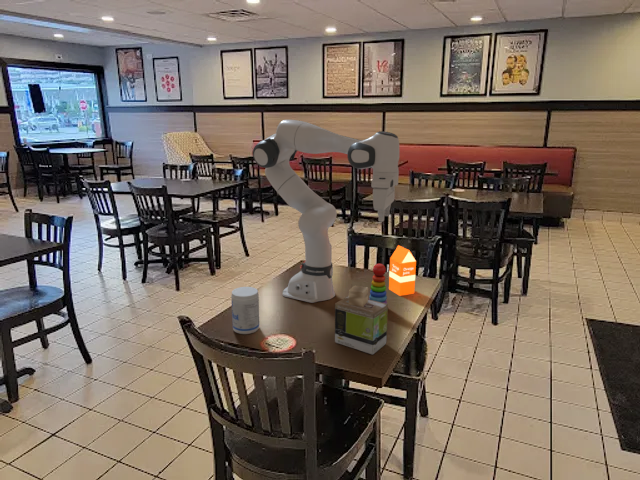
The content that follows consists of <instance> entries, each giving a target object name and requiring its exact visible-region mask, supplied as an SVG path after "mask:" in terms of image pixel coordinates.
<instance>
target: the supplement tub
mask: <svg viewBox="0 0 640 480" xmlns="http://www.w3.org/2000/svg"><path fill="white" fill-rule="evenodd" d="M259 296H260V295H259V289H257V288H255V287H252V286H240V287H236V288H234V289H232V291H231V296H230V298H231V318H232V321H231V322H232V330H233V332H235V333H237V334H240V335H249V334H254V333H256V332H257V331H258V330H259V328H260V306H259V305H260V304H259V303H260V301H259V298H260V297H259Z"/></svg>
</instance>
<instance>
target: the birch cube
mask: <svg viewBox="0 0 640 480" xmlns="http://www.w3.org/2000/svg"><path fill="white" fill-rule="evenodd" d="M348 296H349V305H354V306H360V307H363V306H364V305H365V304H366V303H367V302H368V299H369V287H368V286H361V285H352V287H351V288H349V290H348Z"/></svg>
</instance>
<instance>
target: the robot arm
mask: <svg viewBox="0 0 640 480" xmlns="http://www.w3.org/2000/svg"><path fill="white" fill-rule="evenodd" d="M297 152H301V153H305V154H313V155H316V154H318V155H319V154H327V153H340V154H341V153H342V154H346V155H347V160H348V162H349V164H350V165H351V166H352V167H353V168H355V169H358V170H364V169H370V168H371V169H372V180H371V186H370V187H371V188H373V189H372V204H373V210H374V211H377V216H378V222H380V223H381V222H384V221H385V217H389V216H390V211H391V206H392V203H393V202H395V193H396V192H395V191H396V189H395V186H398V185H399V178H400V177H399V175H400V174H399V173H400V171H399V170H400V169H399V161H400V139H399V137H398V135H397V134H395V133H393V132H389V131H381V130H380V131H377V132H376V133H375V134H373V135H372V136H370V137H368V138H366V139H357V138H355V137H349V136H346V135H342V134H338V133H336V132H333V131H330V130H328V129H326V128H324V127H321V126H318V125H316V124H314V123H313V124H312V123H311V122H307V121H302V120H297V119H283V120H282V121H280V122H279V123H278V125H277V127H276V130H275V133H274V134H271V135H269V136H268V137H266V138H265V139H263V140H260V141H259V142H258V143H256V145H254V147H253V149H252V157H253V160H254V161H255V164H256V165H258V166H259V167H261V168H262V169H263V168H265V169H264V176H265V177H266V179H267V180H268V182H269V183H270V185H271V186H272V188H273V189H274V190H275V191H276V193H277V194H278V195H279V196H280V197H281V198H282V200H283V201H284V202H285V203H286V204H287V205H288V206H289V207H291V208H292V209H295V210H296V211H298V212H299V213H300V214H301V215H300V217H299V219H298V222H297V223H298V225H297V226H298V229H299V230H300V232H301V233H302V238H303V243H304V251H305V252H304V253H305V257H304V258H305V260H303V262H302V263H301V265H299V270H300V271H299V272H298V273H296V274H294V275H293V276H292V277H291V278H290V279H289V281H288V284H287V285H288V286H286V287H285V288H284V289H283V291H282V296H283V297H285V298H290V299H293V300H299V301H302V302H307V303H312V304H313V303H314V304H315V303H317V302H322V301H327V300H331V299H333V298H334V297H335V296H336V292H335V289H334V288H335V287H334V284H333V273H334V269H333V268H334V267H333V262H332V260H333V259H332V258H333V257H332V252H333V251H332V249H333V248H332V244H331V242H330V238H329V228H330V227H332V226H333V225H334V224H335V221H336V219H337V215H338V212H337V209H336V207H335V206H334V205H333V204H331V203H329V202H327V201H326V200H325V199H323V198H322V197H321V196H319V195H318V194H317V193H316V192H315V191H313V189H311V188H310V187H309V186H308V184H307V183H305V181H304V180H303V179H302V178H301V177H300V176H299V175H298V173H297V172H296V171H295V170H294V169H292V167H291V165H290V161H294V159H295V156H296V153H297Z"/></svg>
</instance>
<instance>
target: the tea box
mask: <svg viewBox="0 0 640 480" xmlns="http://www.w3.org/2000/svg"><path fill="white" fill-rule="evenodd" d="M369 299H370V298H368V302H367V303H366V304H365V305H364V306H363V307H360V306H354V305H349V295H347V296H346V297H344V298H343V299H341V300H339V301H337V302H335V303H334V342H335V343H336V344H338V345H339V344H340V345H343V346H346V347H347V348H348V347H349V348H351V349H354V350H358V351H361V352H363V353H366V354H369V355H372V356H373V355H374V354H375V353H377V352H379V350H380V349H381V348H383V347H384V346H385V345H386V344H387V337H388V336H387V335H388V310H389V309H388V303H387V304H386V303H382V302H377V301H373V300H369Z"/></svg>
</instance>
